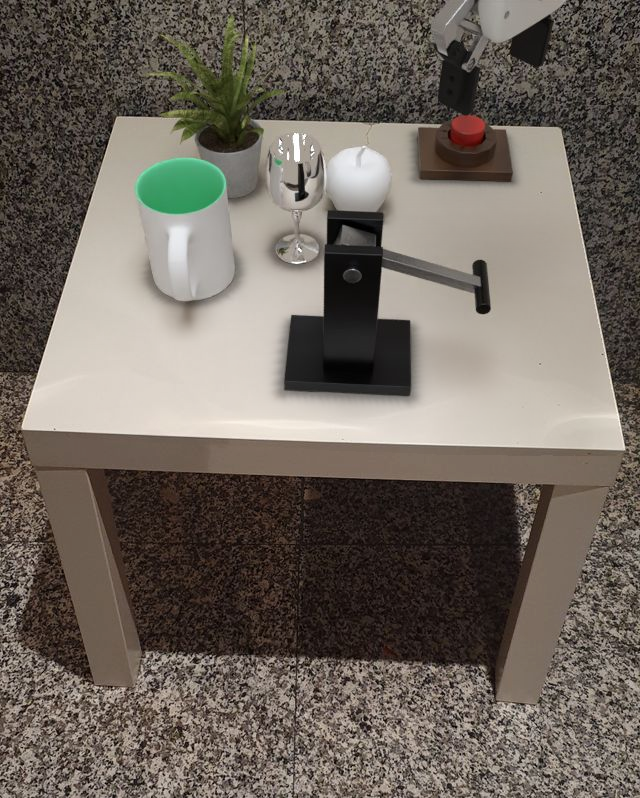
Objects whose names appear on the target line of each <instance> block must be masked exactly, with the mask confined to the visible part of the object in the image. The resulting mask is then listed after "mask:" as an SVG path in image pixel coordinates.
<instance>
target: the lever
mask: <svg viewBox="0 0 640 798" xmlns="http://www.w3.org/2000/svg"><path fill="white" fill-rule="evenodd" d="M334 245H354V246H376V234H372V233H369V232H366V231H362V230H359V229H355V228H352V227H349V226H345V225H342V227H341V229H340V231H339V234H338V236H337V238H336V240H335V243H334ZM471 268H472V269H471V270H472V273H468V272H465V271H461V270H458V269H454V268H452V267H451V268H450V267H447V266H445V265H444V266H443V265H441V264H437V263H434V262H430V261H426V260H423V259H420V258H418V257H417V258H416V257H413V256H410V255H407V254H403V253H399V252H396V251H393V250H389V249H385V248H383V260H382V269H386V270H390V271H393V272H397V273H400V274H404V275H407V276H411V277H414V278H417V279H421V280H424V281H428V282H432V283H435V284H439V285H442V286H446V287H449V288H451V289H452V288H453V289H456V290H458V291H459V290H460V291H463V292H466V293H470V294H473V295H474V305H475V308H474V309H475V312H476V313H477V314H479V315H487V314H488V313H490V312H491V310H492V303H491V293H490V283H489V273H488V271H489V270H488V263H487V262H486V260H484V259H477V260H475V261H473V262H472V265H471Z"/></svg>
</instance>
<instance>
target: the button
mask: <svg viewBox="0 0 640 798" xmlns="http://www.w3.org/2000/svg"><path fill="white" fill-rule="evenodd" d="M453 119H454V120H453V121H452V125H451V132H450V139H451V141H452V142H453V143H455V144H457V145H460V146H464V147H474V146H477V145H479V144H481V142H482V141H483V135H484V130H485V123H486V122H484V120H483V119H482V118H480V117H478V116H475V115H471V114H469V115H467V116H465V115H463V114H461V115H458V116H456V117H454V118H453Z"/></svg>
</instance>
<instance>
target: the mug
mask: <svg viewBox="0 0 640 798" xmlns="http://www.w3.org/2000/svg"><path fill="white" fill-rule="evenodd" d="M134 192H135V198H136V202H137V206H138V211H139V216H140V220H141V225H142V231H143V235H144V240H145V244H146V249H147V254H148V258H149V263H150V269H151V273H152V277H153V281H154V284H155V286H156V288H158V290H159V291H161V292H162V293H163V294H165V295H166V296H168V297H171V298H173V299H174V300H176V301H178V302H190V301H200V300H206V299H208V298H211V297H214V296H216V295H218V294H219V293H221V292H223V291H224V290H225V289H226V288H228V287H229V285H231V283H232V282H233V280H234V277H235V273H236V265H235V255H234V254H235V253H234V247H233V236H232V226H231V217H230V208H229V198H228V197H227V187H226V179H225V176H224V174H223V173H222V171H221V170H220V169H219V168H218V167H216V166H215V165H213V164H211V163H209V162H207V161H204V160H201V158H200V159H199V158H195V157H176V158H170V159H169V158H168V159H165V160H162V161H159V162H157V163H155V164H153V165H151V166H149V167H147V169H145V170H144V171H143V172H142V173H141V174H140V175H139V176H138V177H137V180H136V182H135V185H134Z"/></svg>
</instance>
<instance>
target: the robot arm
mask: <svg viewBox="0 0 640 798" xmlns="http://www.w3.org/2000/svg"><path fill="white" fill-rule="evenodd" d="M566 1H567V0H447V1H446V2H445V4H444V5H443V6H442V8H441V9H440V10H439V12H438V13H437V14H436V15H435V16H434V18H433V19H432V21H431V23H430V32H431V35H432V38H433V43H434V44H433V50H434V51H435V52H436V53H437V54H438V58H439V59H440V60H441V61H442V62H441V69H440V74H439V75H440V76H439V83H438V91H437V101H438V102H439V103H440V104H442V105H444V106H445V107H447V108H450V109H452V110H453V111H455V112H456V113H459V114H461V115H465V116H467V115H471V114H472V113H473V112H474V108H475V107H474V106H475V102H476V95H477V90H478V85H479V79H480V74H481V67H479V66H477V63H478V61H479V60H480V58H481V56H482V54H483V53H484V51H485V48H486V46H487V45H488V43H489V41H491V42H492V43H494V44H502V43H505V42H507V41H508V40H510V39H511V42H510V47H509V52H508V53H509V55H510V56H511V57H513V58H515V59H517V60H519V61H521V62H523V63H526V64H528V65H530V66H532V67H533V68H537V69H538V68H540V67H541V66H544V64H545V60H546V56H547V53H548V47H549V44H550V40H551V37H552V36H551V35H552V31H553V28H554V27H553V26H554V22H555V21H554V19H555V18H556V17H558V15H559V13H560V10H561V7H562V6H563V5H564V4H565V2H566ZM476 16H478V18H479V23H477V22H475V21H473V20H471V19H473V18H474V17H476ZM552 19H553V20H552ZM465 32H468V33H470V34H473V35H475V37H474V39H473V41H472V43H471V44H470V45H469V48H468V49H467V48H466V47H465V46H464V45H463V43H462V42H460V41H461V39H462V37H463V35H464V34H465Z"/></svg>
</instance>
